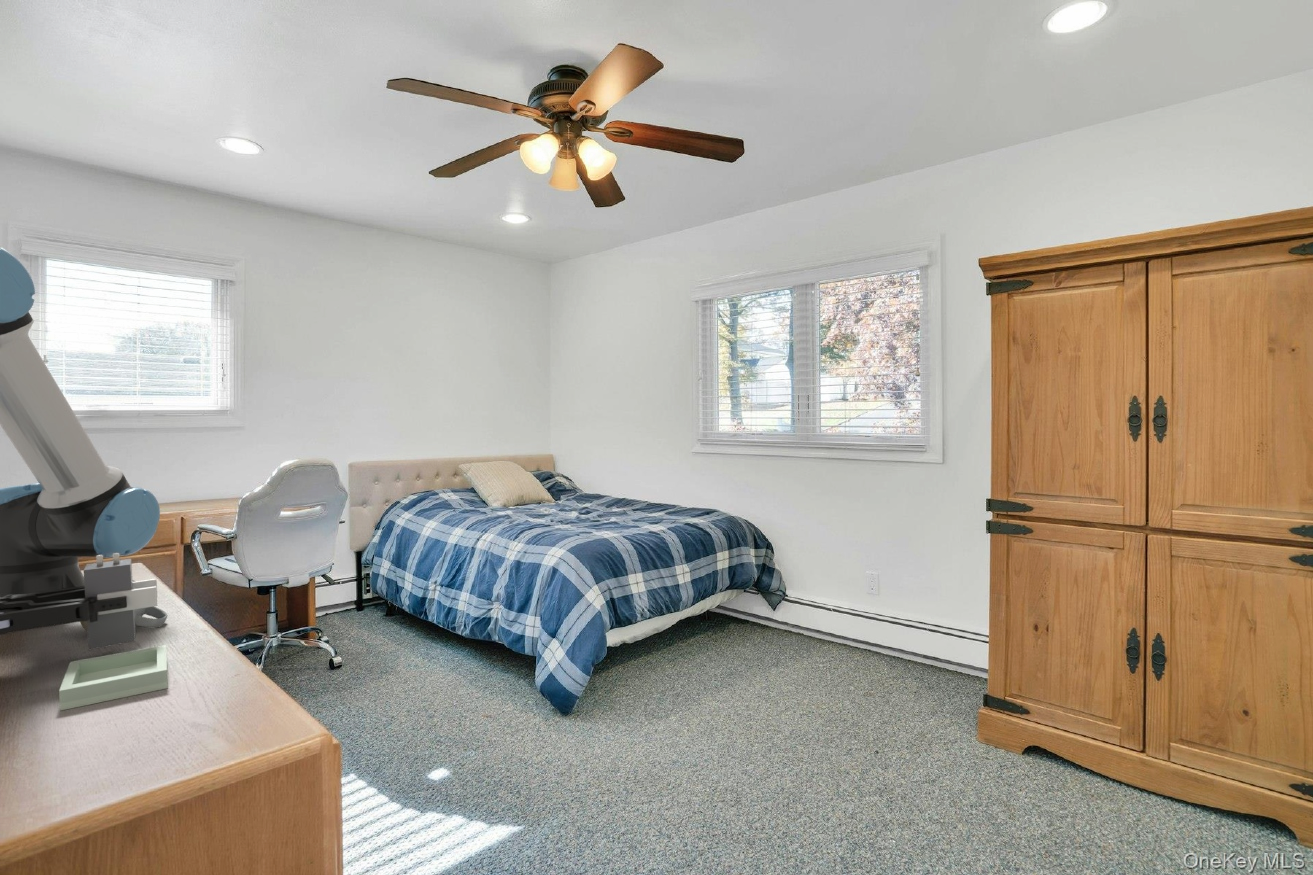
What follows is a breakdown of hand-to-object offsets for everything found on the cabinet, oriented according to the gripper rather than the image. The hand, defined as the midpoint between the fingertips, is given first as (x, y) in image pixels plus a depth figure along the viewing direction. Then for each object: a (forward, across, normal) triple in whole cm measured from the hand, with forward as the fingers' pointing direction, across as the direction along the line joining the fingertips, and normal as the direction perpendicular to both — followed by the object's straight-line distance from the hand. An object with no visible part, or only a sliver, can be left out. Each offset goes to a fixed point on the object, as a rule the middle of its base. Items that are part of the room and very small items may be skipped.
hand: (156, 591), depth 98 cm
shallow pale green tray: (-4, +14, -8) cm, 17 cm away
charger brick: (-5, 0, -6) cm, 8 cm away
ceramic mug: (-4, -16, -9) cm, 18 cm away
